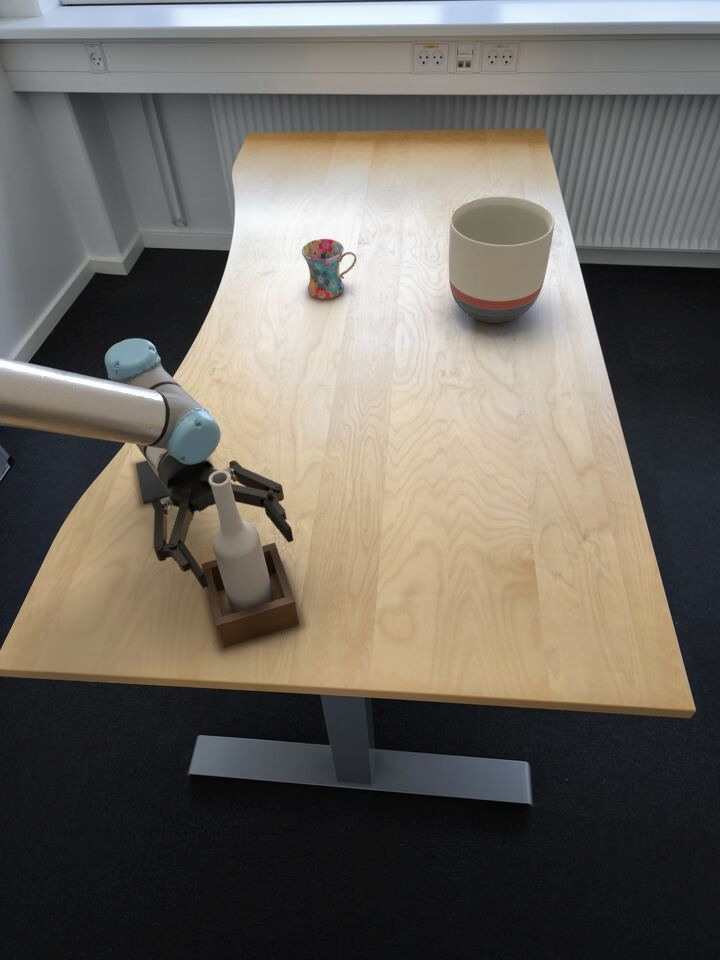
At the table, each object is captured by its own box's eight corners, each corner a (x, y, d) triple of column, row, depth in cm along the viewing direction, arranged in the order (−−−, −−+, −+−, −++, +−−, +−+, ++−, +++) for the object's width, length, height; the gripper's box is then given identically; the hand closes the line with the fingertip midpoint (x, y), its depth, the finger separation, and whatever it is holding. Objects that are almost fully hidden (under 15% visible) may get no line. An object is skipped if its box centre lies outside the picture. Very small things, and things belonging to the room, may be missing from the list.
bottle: (276, 586, 112) (248, 458, 92) (272, 623, 108) (242, 497, 88) (234, 587, 113) (196, 459, 92) (228, 624, 108) (187, 498, 88)
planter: (536, 287, 166) (549, 195, 151) (543, 340, 152) (559, 245, 137) (446, 286, 168) (450, 196, 152) (445, 339, 154) (450, 245, 139)
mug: (306, 304, 166) (302, 261, 158) (305, 282, 172) (300, 240, 164) (359, 299, 166) (357, 257, 158) (356, 277, 172) (354, 235, 165)
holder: (223, 648, 105) (215, 625, 101) (208, 587, 113) (200, 563, 109) (299, 624, 108) (295, 601, 103) (280, 565, 115) (275, 542, 111)
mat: (143, 503, 126) (143, 501, 125) (136, 465, 132) (135, 463, 132) (212, 485, 128) (211, 483, 128) (202, 448, 135) (201, 446, 134)
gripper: (256, 449, 117) (327, 533, 104) (110, 518, 108) (169, 619, 96) (248, 413, 111) (323, 498, 99) (95, 483, 103) (155, 586, 90)
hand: (248, 558), depth 97 cm, fingers open, 12 cm apart
